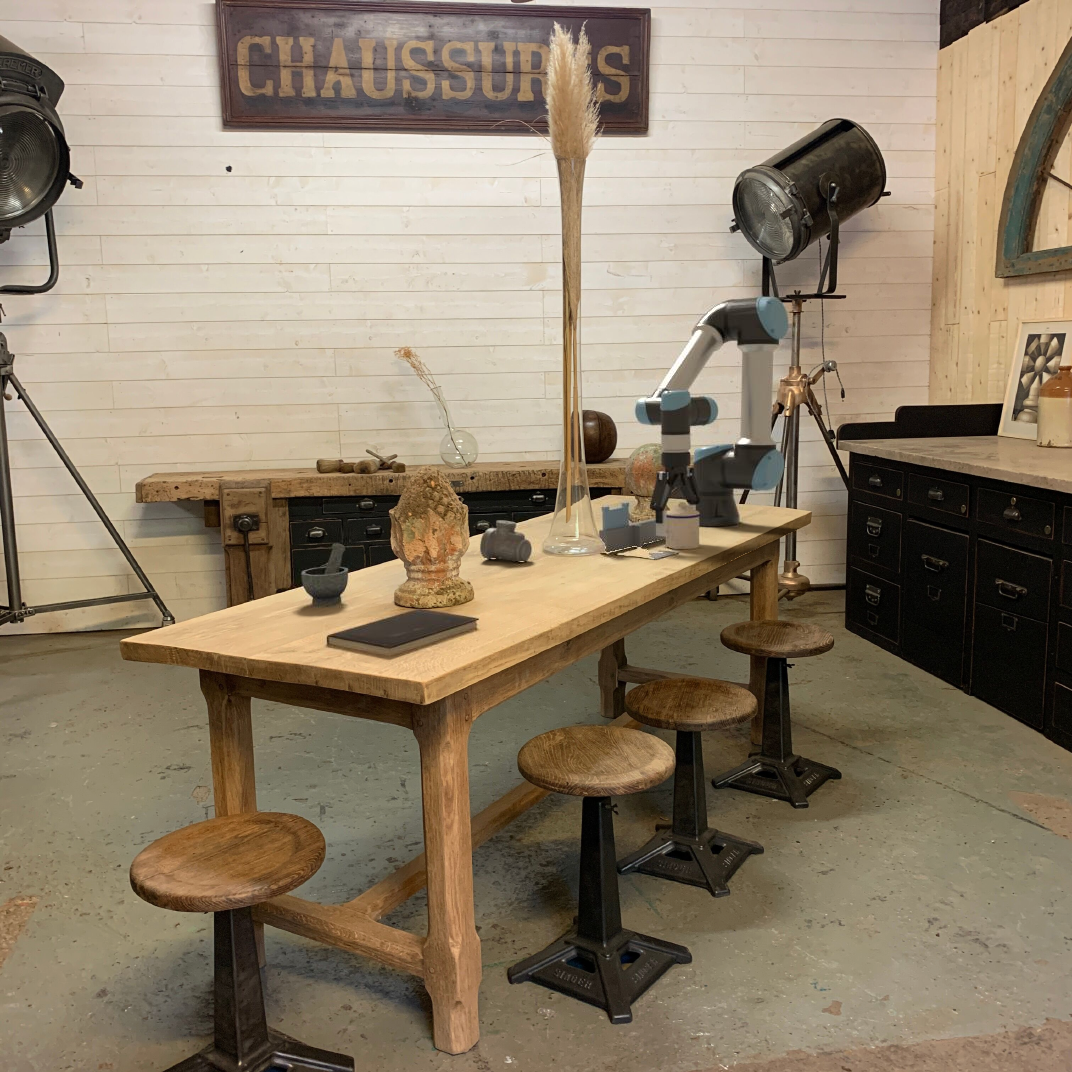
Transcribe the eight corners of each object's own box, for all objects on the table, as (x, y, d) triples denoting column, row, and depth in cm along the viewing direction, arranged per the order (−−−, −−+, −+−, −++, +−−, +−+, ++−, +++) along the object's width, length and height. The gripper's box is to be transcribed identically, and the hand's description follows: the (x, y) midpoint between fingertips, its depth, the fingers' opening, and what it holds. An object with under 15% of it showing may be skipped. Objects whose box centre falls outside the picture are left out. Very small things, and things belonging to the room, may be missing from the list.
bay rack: (660, 538, 283) (660, 516, 282) (713, 543, 272) (713, 521, 271) (599, 553, 263) (599, 530, 262) (654, 560, 252) (654, 535, 251)
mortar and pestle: (329, 610, 210) (325, 552, 208) (293, 606, 214) (289, 549, 212) (363, 598, 220) (360, 542, 218) (328, 595, 224) (324, 540, 222)
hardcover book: (479, 630, 192) (478, 618, 192) (390, 660, 174) (389, 646, 174) (417, 619, 202) (416, 608, 201) (326, 646, 184) (325, 634, 183)
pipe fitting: (476, 559, 257) (480, 519, 256) (496, 557, 264) (500, 517, 262) (514, 569, 251) (519, 528, 249) (534, 566, 257) (538, 526, 256)
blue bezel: (625, 525, 270) (625, 502, 269) (629, 525, 269) (629, 502, 268) (602, 530, 262) (601, 506, 261) (605, 530, 261) (605, 507, 260)
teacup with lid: (706, 545, 270) (706, 501, 268) (690, 551, 263) (689, 505, 261) (665, 542, 277) (665, 499, 275) (648, 547, 270) (648, 503, 268)
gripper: (690, 447, 278) (690, 525, 281) (635, 454, 259) (636, 537, 263) (714, 447, 273) (714, 527, 276) (660, 455, 254) (660, 540, 258)
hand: (676, 532), depth 269 cm, fingers open, 13 cm apart
